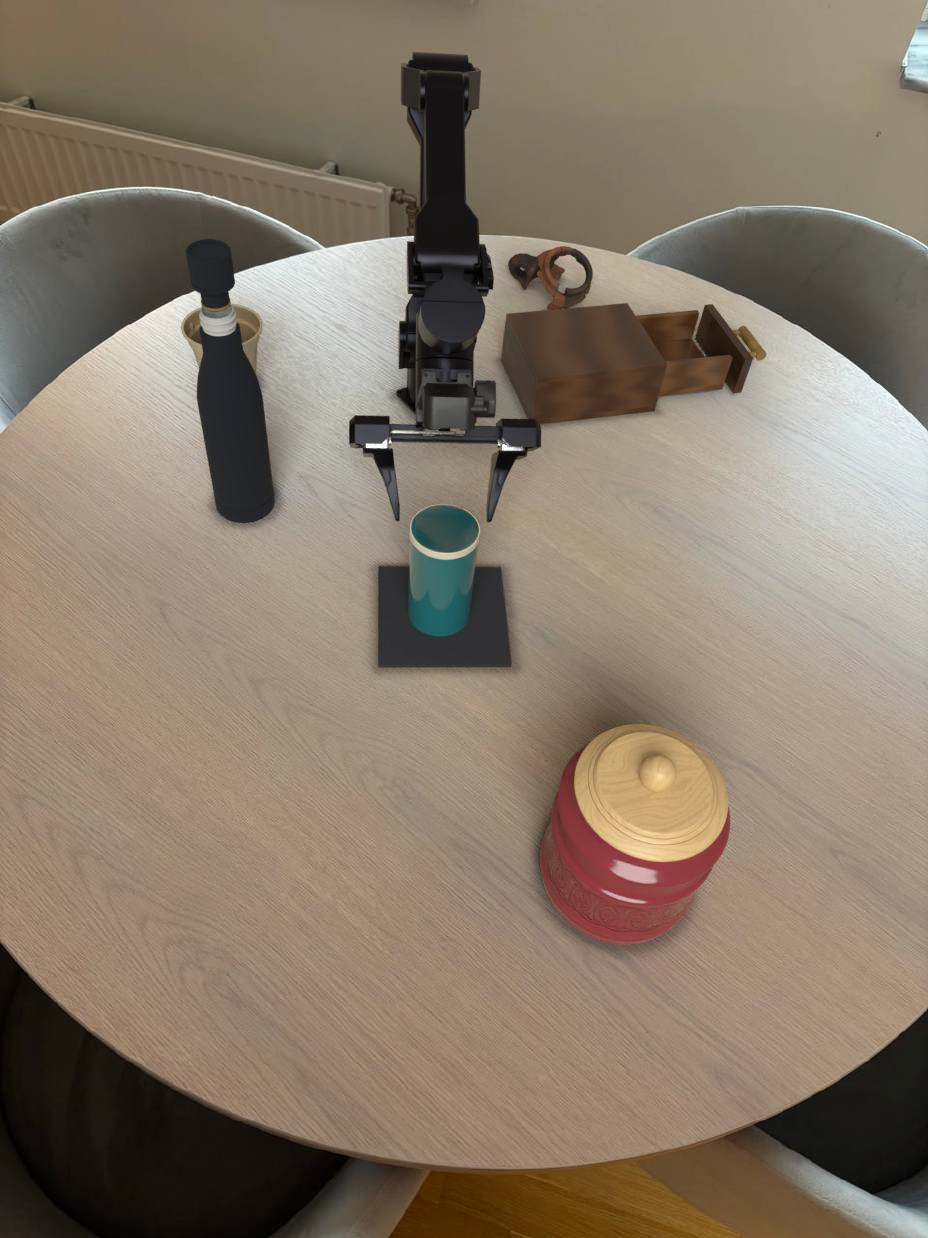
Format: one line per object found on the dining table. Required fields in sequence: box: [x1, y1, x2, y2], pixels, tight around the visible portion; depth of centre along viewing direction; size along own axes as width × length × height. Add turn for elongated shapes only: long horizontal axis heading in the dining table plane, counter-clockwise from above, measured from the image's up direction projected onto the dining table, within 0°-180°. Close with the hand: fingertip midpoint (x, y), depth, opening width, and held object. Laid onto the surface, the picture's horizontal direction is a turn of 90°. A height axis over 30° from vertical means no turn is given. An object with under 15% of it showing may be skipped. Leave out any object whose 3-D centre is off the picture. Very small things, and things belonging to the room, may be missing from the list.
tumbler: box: [407, 503, 481, 636], centre depth 92 cm, size 6×6×12 cm
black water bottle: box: [185, 238, 276, 524], centre depth 94 cm, size 6×6×30 cm
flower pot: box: [180, 302, 264, 375], centre depth 115 cm, size 9×9×9 cm
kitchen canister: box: [539, 723, 731, 946], centre depth 73 cm, size 13×13×18 cm
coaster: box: [377, 566, 512, 668], centre depth 97 cm, size 13×13×1 cm
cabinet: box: [500, 302, 667, 425], centre depth 121 cm, size 17×14×7 cm
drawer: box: [635, 303, 767, 397], centre depth 124 cm, size 20×12×5 cm, turn 105°
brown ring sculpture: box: [507, 245, 594, 310], centre depth 134 cm, size 12×10×8 cm
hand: (443, 521), depth 95 cm, fingers open, 9 cm apart
